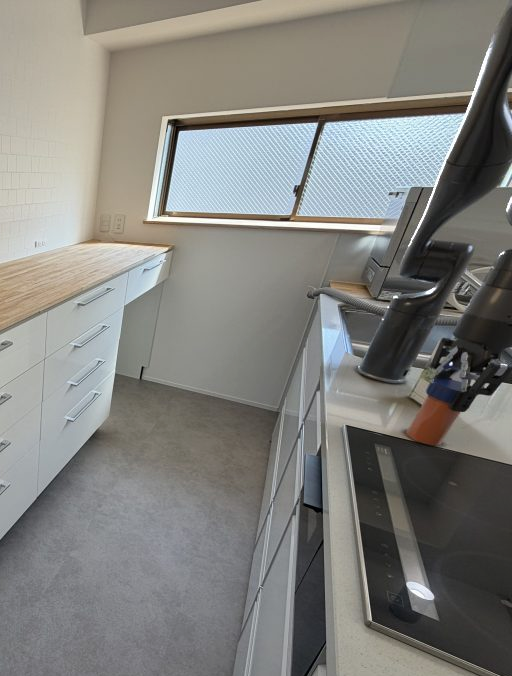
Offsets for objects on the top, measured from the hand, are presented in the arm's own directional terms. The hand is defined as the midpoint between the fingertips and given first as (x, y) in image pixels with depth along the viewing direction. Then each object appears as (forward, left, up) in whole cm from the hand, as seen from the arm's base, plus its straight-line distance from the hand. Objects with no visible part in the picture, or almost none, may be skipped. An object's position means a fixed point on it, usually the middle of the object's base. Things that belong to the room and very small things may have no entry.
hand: (444, 402), depth 76 cm
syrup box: (-19, +8, -8) cm, 22 cm away
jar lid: (0, 0, +1) cm, 1 cm away
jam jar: (0, 0, -8) cm, 8 cm away
